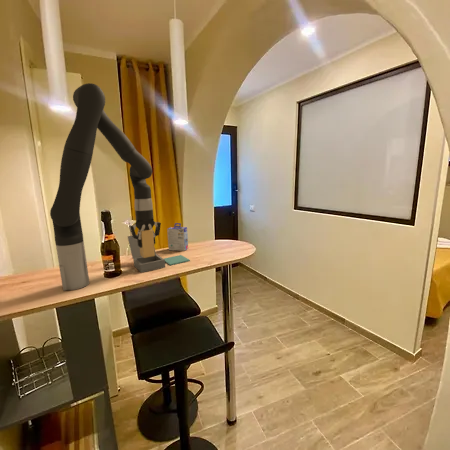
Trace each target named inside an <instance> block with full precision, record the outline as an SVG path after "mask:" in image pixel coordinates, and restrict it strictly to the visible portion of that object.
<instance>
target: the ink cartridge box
mask: <svg viewBox="0 0 450 450" xmlns="http://www.w3.org/2000/svg"><path fill="white" fill-rule="evenodd" d="M166 230H167V245H168V247H167V248H168V251H178V252H179V251H181V252H182V251H184V252H185V251H187V250H188V249H189V237H188V227H186V226H182V223H181V222H180V223H178V222H175V223H174V226H173V227H172V226H170V227H168V228H166Z"/></svg>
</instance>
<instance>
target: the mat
mask: <svg viewBox="0 0 450 450" xmlns="http://www.w3.org/2000/svg"><path fill="white" fill-rule="evenodd" d="M163 259H165V264H168V265H169V266H174V265H177V264H178V265H180V264H183V263H187V262H191V259H189V258H188V257H186V256H184V255H182V254H179V255H173V256H169V257H165V258H164V257H163Z"/></svg>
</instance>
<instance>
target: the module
mask: <svg viewBox="0 0 450 450" xmlns="http://www.w3.org/2000/svg"><path fill="white" fill-rule="evenodd" d="M138 230H139V229H138ZM153 231H154V229H153V230H144V231H141V240H142V248H140V255H141V256H142V257H143V258H146V257H152V256H155V251H156V249H155V250H154V247H155V244H154V237H153ZM139 232H140V230H139Z"/></svg>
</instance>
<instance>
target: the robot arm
mask: <svg viewBox="0 0 450 450" xmlns="http://www.w3.org/2000/svg"><path fill="white" fill-rule="evenodd" d="M72 100H73V103H74V105H75V107H76V113H75V119H74V122H73V125H72V127H71V128H70V131H69V133H68V135H67V138H66V140H65V142H64V143H65V144H64V146H63V151H62V156H61V159H60V160H61V162H60V170H59V181H58V182H59V183H58V189H57V192H56V194H55V198H54V201H53V203H52V206H51V208H50V211H49V214H50V215H49V216H50V218H51V220H52V226H53V234H54V242H55V248H56V253H57V261H58V267H59V274H60V280H61V285H62V290H63V292H64V291H71V290H72V291H74V290H75V291H76V290H78V289H82V288H84V287H87V286H89V284H90V277H89V268H88V263H87V255H86V249H85V242H84V235H83V234H84V233H83V228H82V227H83V226H82V222H81V213H80V212H81V209H80V208H81V199H82V192H83V189H84V186H85V183H86V180H87V177H88V174H89V171H90V168H91V164H92V159H93V155H94V148H95V144H96V137H97V131H99V132H100V133H101V134H102V135H103V136H104V138H105V139H106V141H108V143H109V144H110V145H111V147H112V148H113V149H114V151H115V152H116V153H117V155H118V156H119V158H121V160H122V161H123V162H125V163H128V164H129V165H130V167H129V177H130V182H131V184H132V186H133V187H132V188H133V195H134V212H135V213H134V214H135V223H134V224H130V225H129V226H128V228H129V231H130V234H131V236H132V237H133V238H134V239H137V242H138V246H139V247H140V248H142V240H141V231H144V230H153V237H154V245H156V237H157V236H160V230H161V226H162V225H161V224H162V223H161V222H159V221H155V220H154V208H153V207H154V206H153V205H154V204H153V199H152V188H151V186H150V185H149V184H148V183H147V181H146V179H150V178H151V176H152V175H153V167H152V165H151V163H150V162H149V161H148V159H146V158H145V157H144V156H143V155H142V154H141V153H140V152H139V151H138V150H137V149H136V147H135V145H134V144H133V143H132V141H131V140H130V139H129V138H128V136H127V135H126V134H125V132H123V131H122V130H121V129H120V128H119V127H118V126H117V125H116V124H115V123H114V122H113V121H112V120H111V118H110V117H109V116H108V114H107V113H106V111H105V110H104V108H105V105H106V96H105V93H104V91H103V89H102V88H101V87H100V86H98V85H97V84H95V83H91V82H90V83H83V84H82V85H80V86H78V87H77V88H76V89H75V90H74V91H73V94H72ZM153 227H155V230H154V229H153ZM136 228H137V229H138V230H137V233H136V231H135V230H136ZM139 230H140V232H139ZM136 235H137V236H136Z"/></svg>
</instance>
